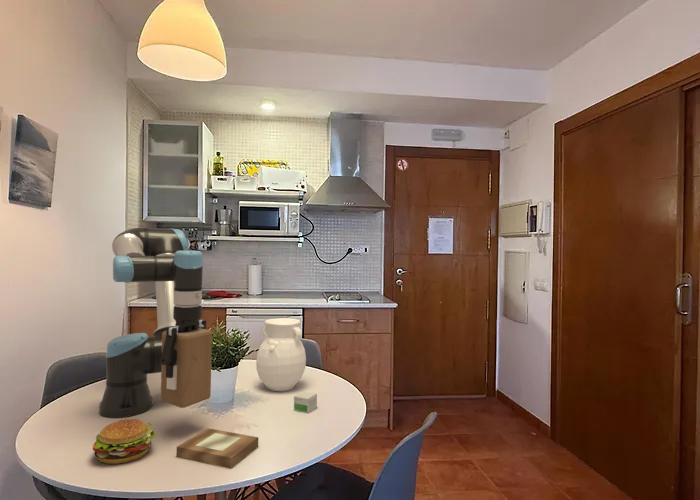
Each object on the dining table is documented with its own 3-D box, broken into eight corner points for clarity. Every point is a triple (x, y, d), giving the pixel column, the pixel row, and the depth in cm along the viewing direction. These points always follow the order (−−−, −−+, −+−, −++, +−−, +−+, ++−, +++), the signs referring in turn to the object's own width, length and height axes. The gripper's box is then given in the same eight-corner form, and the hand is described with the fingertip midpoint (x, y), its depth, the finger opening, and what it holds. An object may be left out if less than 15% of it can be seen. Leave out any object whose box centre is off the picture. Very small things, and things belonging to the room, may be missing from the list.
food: (149, 464, 104) (149, 431, 104) (84, 469, 101) (85, 435, 101) (161, 439, 118) (162, 410, 118) (104, 443, 115) (105, 413, 115)
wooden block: (182, 409, 117) (183, 335, 116) (159, 401, 122) (160, 330, 122) (211, 398, 125) (213, 329, 125) (189, 391, 131) (190, 325, 130)
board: (176, 456, 108) (176, 446, 108) (207, 437, 120) (207, 427, 119) (231, 468, 103) (231, 457, 103) (258, 446, 114) (258, 436, 114)
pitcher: (315, 385, 166) (316, 319, 166) (283, 398, 151) (284, 326, 151) (278, 376, 176) (279, 315, 176) (245, 388, 161) (246, 321, 161)
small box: (293, 410, 140) (293, 395, 140) (302, 405, 145) (302, 390, 145) (308, 413, 138) (308, 398, 138) (317, 408, 143) (317, 393, 143)
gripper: (168, 312, 111) (167, 398, 111) (224, 301, 133) (222, 372, 133) (145, 310, 113) (143, 393, 114) (203, 299, 135) (202, 369, 136)
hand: (186, 382), depth 124 cm, fingers closed on wooden block, 11 cm apart
